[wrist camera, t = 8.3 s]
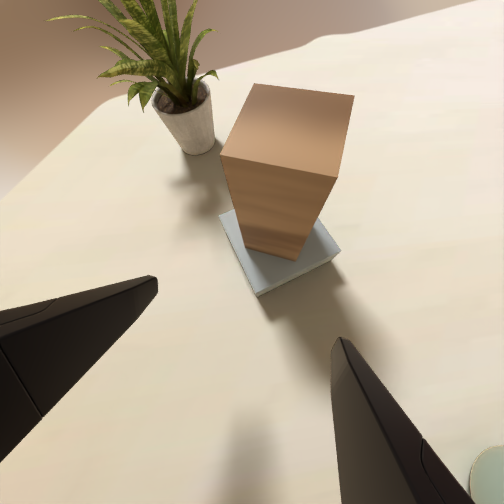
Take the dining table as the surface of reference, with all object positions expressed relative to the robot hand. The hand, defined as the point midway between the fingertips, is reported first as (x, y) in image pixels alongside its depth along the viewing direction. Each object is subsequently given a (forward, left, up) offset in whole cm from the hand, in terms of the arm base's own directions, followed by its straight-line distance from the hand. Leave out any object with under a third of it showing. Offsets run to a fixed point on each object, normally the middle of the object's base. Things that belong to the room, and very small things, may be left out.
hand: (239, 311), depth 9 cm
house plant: (+3, +27, -11) cm, 29 cm away
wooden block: (+6, +6, -8) cm, 11 cm away
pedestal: (+6, +6, -11) cm, 14 cm away
